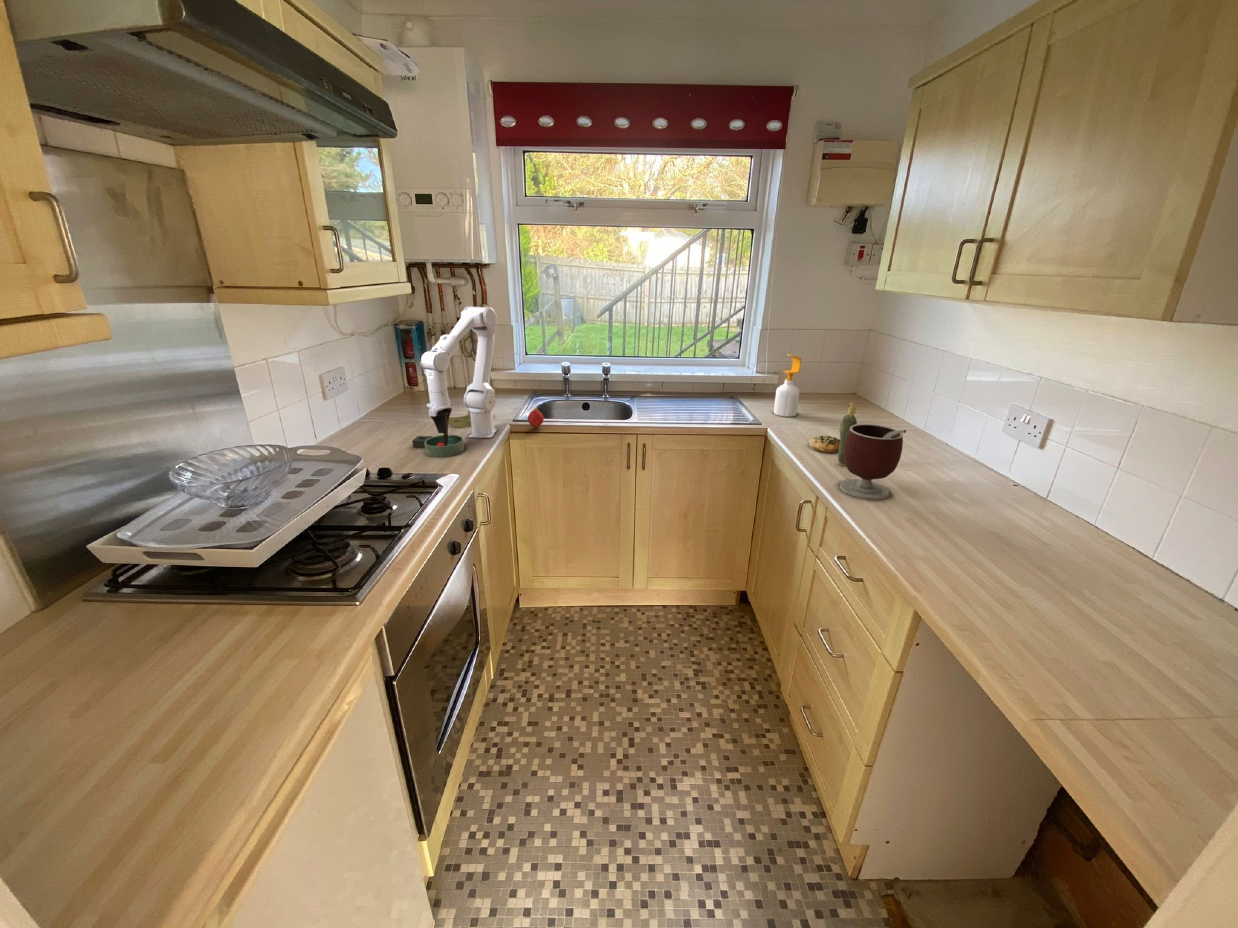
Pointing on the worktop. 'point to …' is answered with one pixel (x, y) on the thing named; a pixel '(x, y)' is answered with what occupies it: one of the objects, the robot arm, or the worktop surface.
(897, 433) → the mate gourd
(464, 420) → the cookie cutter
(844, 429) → the vegetable
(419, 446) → the holder
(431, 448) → the bowl
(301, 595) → the worktop surface
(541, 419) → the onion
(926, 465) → the worktop surface
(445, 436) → the stick
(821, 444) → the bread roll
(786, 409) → the soap bottle
